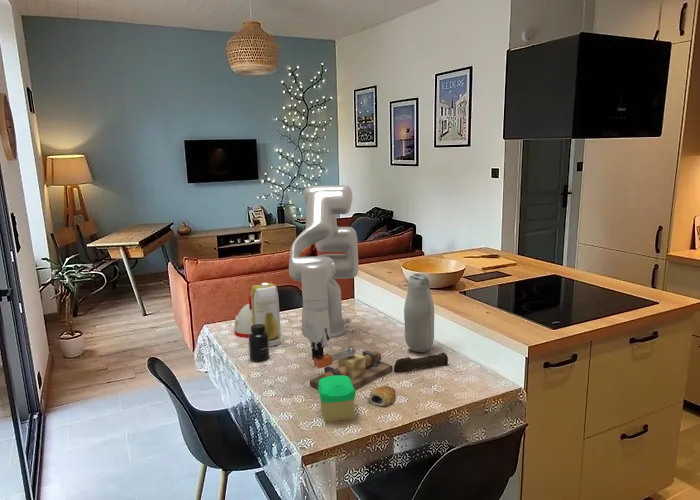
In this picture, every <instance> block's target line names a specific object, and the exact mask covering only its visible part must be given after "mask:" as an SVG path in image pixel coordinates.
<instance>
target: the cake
mask: <svg viewBox="0 0 700 500" xmlns="http://www.w3.org/2000/svg"><path fill="white" fill-rule="evenodd" d="M317 392H318V395H319V400H320V401H319V402H320V409H321V413H322V417H323V421H324V422H332V421H340V420H342V421H343V420H349V419H350V420H351V419H355V398H356V390H355V389H354V387H353V385H352V383H351V380H350V378H349V377H348V376H344V375H334V376H328V377H324V378H321V379H320V380H319V384H318V390H317Z"/></svg>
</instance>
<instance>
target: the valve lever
mask: <svg viewBox="0 0 700 500" xmlns="http://www.w3.org/2000/svg"><path fill="white" fill-rule="evenodd" d="M355 353H356V347H355V346H348V347H347V349H346V350H343V351H340V352H336V353H334V354H330V353H324V354H323V355H320V356H317V357H313V358H314V361H313V366H314V367H315V368H317V369H322V368H325V367H328V366H329V367H330V366H332V365H334V362H335V361H338V360H339V359H342V358H345V357H348V356H349V357H354V355H355Z"/></svg>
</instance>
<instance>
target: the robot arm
mask: <svg viewBox="0 0 700 500" xmlns="http://www.w3.org/2000/svg"><path fill="white" fill-rule="evenodd" d="M303 199H304V201H305V202H304V203H305V204H306V216H305V218H306V219H305V229H304V230H302V232H300V233H299V235H297V237H296V238H295V239H294V241H293V243H292V245H291V247H290V250H289V261H288V262H289V263H288V272H289V276H290V278H291V279H292V280H294V281H296V282H301V295H302V310H301V334H302V337H304V338H306V339H307V340H309V341H310V342H309V343H310V348H311V358H312V359H311V360H312V362H314V358H313V357H317V356H320V355H323V354H325V353H324V348H326V347H328V345H329V344H328V341H329V340H331V338H337V337H341V336H343V335H345V334H346V333H347V328H346V327H345V325H346V324H348V323H349V324H350V322H351V318H350V317H347V318H346V317H345V318H343V314H342V313H343V310H342V309H343V308H342V290H341V287H340V285H339V284H338V281H336V280H337V279H340V280H341V279H354V278H356V277H357V276H358V274H359V251H358V250H359V249H358V244H359V243H358V235H357V231H356V229H354V228H353V227H352V226H351V227H350V226H338V224H337V220H338V219H337V215H347V214H349V212H350V211H351V209H352V203H353V192H352V189H351V187H350V186H349V185H346V184H345V185H344V184H343V185H341V184H340V185H335V184H334V185H313V186H309V187H306V188H305V189H304V190H303ZM314 244H315V246H316V250H318V251H319V252H322V253H324V254H320V255H317V256H301V253H302V252H303V251H304V250H305V249H306V248H308V247H310V246H312V245H314ZM341 252H342V253H341ZM335 279H336V280H335Z"/></svg>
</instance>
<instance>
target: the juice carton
mask: <svg viewBox="0 0 700 500" xmlns="http://www.w3.org/2000/svg"><path fill="white" fill-rule="evenodd" d="M250 296H251V306H252V320H253V325H255V324H263V325H265V332H266V333H267V334H268V340H269V347H274V346H278V345H280V344H281V318H280V317H281V316H280V303H279V292H278V288H277V285H275V284H274V283H272V282H269V283H268V282H261V284H258V285H257V284H256V285H251V291H250Z"/></svg>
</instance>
